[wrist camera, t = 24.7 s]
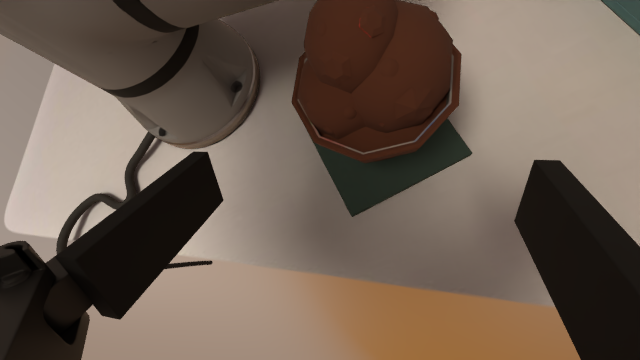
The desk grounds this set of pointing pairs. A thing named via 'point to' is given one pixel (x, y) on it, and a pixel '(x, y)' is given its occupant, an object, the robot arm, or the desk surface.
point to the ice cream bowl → (375, 77)
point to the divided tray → (627, 11)
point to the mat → (392, 169)
